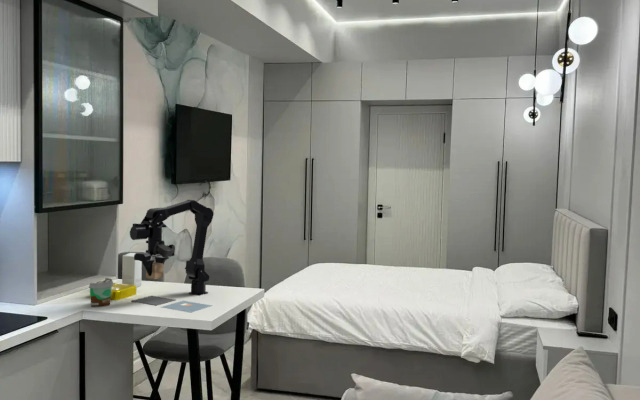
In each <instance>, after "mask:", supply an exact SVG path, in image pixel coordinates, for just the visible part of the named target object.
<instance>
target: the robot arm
mask: <svg viewBox="0 0 640 400" xmlns="http://www.w3.org/2000/svg"><path fill="white" fill-rule="evenodd" d="M187 211H190V212H191V213H192V214H193V215H194V222H195V225H196V230H195V234H194V241H193V242H194V243H193V248H192V252H191V253H192V254H191V257H190V259H189V260H186V261H185V267H184V270H185V274H186V275H187V277H188V279H189V280H190V281H191V285H190V292H188V294H189V295H195V296H202V295H205V294H208V293H209V292H208V291H206V287H207V286H206V284H207V282H208V281H209V280H210V275H209V274H208V273H207V272H206V270H205V268H206V267H205V266H206V265H205V262H204V258H203V257H204V252H205V245H206V239H207V233H208V227H209V226H210V224H212V221H213V218H214V214H215V213H214V210H213V209H212V208H210V207H207V206H205V205H204V204H202V203H199V202H198V201H197V200H195V199H187V200H184V201H181V202H179V203H175V204H172V205H169V206H166V207H165V206H164V207H154V208H149V209H147V210H146V213H145V215H144V218H142V221H141V222H140V223H134V222H133V223H132V226H131V227H130V230H129V237H130V239H131V240H133V241H139V240H145V243H146V244H147V249H146V250H145V252H135V253H136V254H135V255H134V260H139V261H141V262H142V266H143V267H144V268H145V272H146V271H147V273H148V275H149V276H151V275H152V263H154V262H155V263H163V266H164V264H165V262H166V261H167V260H168V259H170V258H171V257H174V256H175V252H176V251H175V250H176V245H174V244H169V245H167V244H165V240H163V228H168V226H167V225H166V223H164V222H165V221H166V220H168V219H169V218H170V217H172V216H175V215H177V214H181V213H184V212H187ZM146 239H147V240H146ZM153 258H154V259H153Z"/></svg>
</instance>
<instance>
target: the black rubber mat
mask: <svg viewBox="0 0 640 400" xmlns="http://www.w3.org/2000/svg"><path fill="white" fill-rule="evenodd" d="M175 301H176V298H175V299H174V298H169V297H168V298H167V297H164V296H163V297H161V296H156V295H149V296H145V297H140V298H137V299H133V300H131V303H139V304H143V305H144V304H145V305H149V306H155V307H156V306H161V305H164V304H168V303H171V302H175Z"/></svg>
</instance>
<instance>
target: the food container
mask: <svg viewBox="0 0 640 400" xmlns="http://www.w3.org/2000/svg"><path fill="white" fill-rule="evenodd" d="M113 283H114V281H113V279H112V278H109V277H105V279H104V280H101V281H97V282H90V283H89V285H88V288H89V297H90V296H91V298H90V308H101V307H107V306H110V305H111V301H112V300H111V290H112V286H113V285H114V284H113Z"/></svg>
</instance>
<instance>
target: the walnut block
mask: <svg viewBox="0 0 640 400" xmlns="http://www.w3.org/2000/svg"><path fill="white" fill-rule="evenodd" d="M145 278H146V279H151V280H157V279H163V278H164V265H163V263H156V261H154V262H153V263H152V275H151V276H149V275H148V273H147V271H146V270H145Z"/></svg>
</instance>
